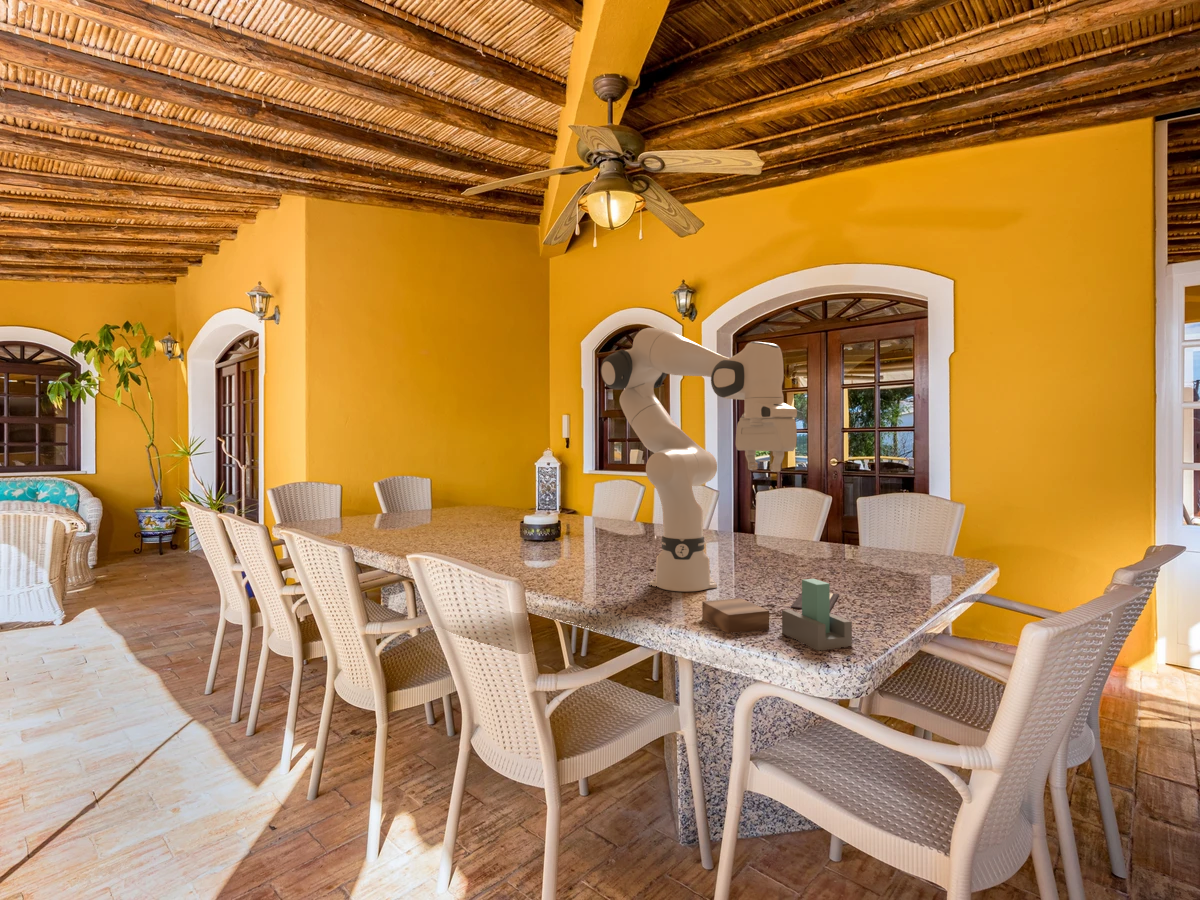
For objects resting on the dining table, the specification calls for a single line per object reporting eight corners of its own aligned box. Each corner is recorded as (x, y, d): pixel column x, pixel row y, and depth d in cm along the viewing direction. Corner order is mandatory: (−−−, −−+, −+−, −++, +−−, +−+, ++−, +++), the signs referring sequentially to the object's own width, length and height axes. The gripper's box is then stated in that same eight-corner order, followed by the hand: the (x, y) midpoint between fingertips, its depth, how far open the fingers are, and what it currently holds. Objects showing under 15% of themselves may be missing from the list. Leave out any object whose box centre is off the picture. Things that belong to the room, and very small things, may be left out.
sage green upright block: (801, 627, 133) (801, 579, 133) (814, 625, 134) (814, 578, 134) (817, 634, 128) (817, 584, 128) (829, 632, 129) (829, 583, 129)
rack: (782, 633, 135) (782, 609, 135) (813, 629, 138) (813, 606, 138) (817, 650, 124) (817, 625, 124) (851, 646, 126) (851, 621, 126)
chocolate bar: (790, 606, 155) (803, 590, 171) (790, 610, 155) (803, 594, 171) (829, 610, 151) (838, 594, 167) (829, 614, 151) (838, 597, 167)
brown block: (702, 618, 147) (702, 601, 147) (740, 614, 150) (740, 597, 150) (728, 633, 135) (728, 615, 135) (769, 629, 138) (769, 610, 138)
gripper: (729, 413, 156) (729, 469, 157) (777, 409, 137) (777, 473, 137) (751, 413, 158) (751, 468, 159) (801, 409, 139) (801, 472, 139)
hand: (763, 470), depth 148 cm, fingers open, 8 cm apart
